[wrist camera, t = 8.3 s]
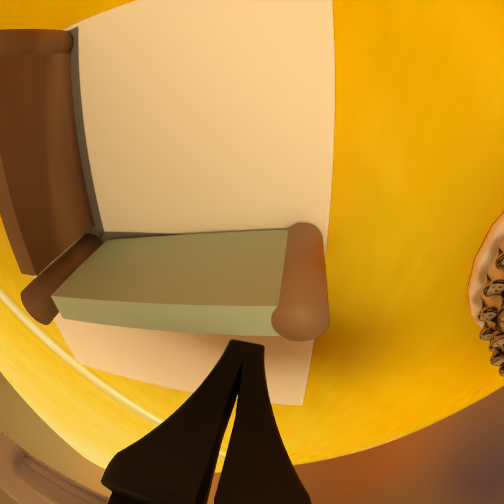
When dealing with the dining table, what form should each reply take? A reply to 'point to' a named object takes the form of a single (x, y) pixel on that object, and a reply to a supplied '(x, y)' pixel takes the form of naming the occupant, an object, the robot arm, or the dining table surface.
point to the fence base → (42, 165)
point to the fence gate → (205, 284)
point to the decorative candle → (490, 291)
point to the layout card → (202, 153)
